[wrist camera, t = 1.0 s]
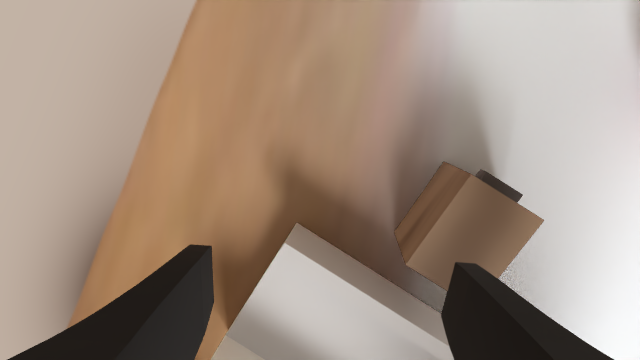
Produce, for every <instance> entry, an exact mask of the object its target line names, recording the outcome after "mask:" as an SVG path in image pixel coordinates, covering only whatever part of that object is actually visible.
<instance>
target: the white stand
mask: <svg viewBox="0 0 640 360" xmlns="http://www.w3.org/2000/svg"><path fill="white" fill-rule="evenodd" d="M210 360H454V358H453V355H452V353H451V350H450V347H449V344H448V340H447V337H446V333H445V330H444V326H443V322H442V318H441V313H439V312H438V311H436V310H435V309H433V308H431V307H430V306H428V305H427V304H425V303H424V302H422V301H420V300H419V299H417V298H416V297H414V296H412V295H411V294H409V293H408V292H406V291H404V290H403V289H401V288H400V287H398V286H397V285H395V284H393V283H392V282H390V281H389V280H387V279H385V278H384V277H382V276H381V275H379V274H378V273H376V272H374V271H373V270H371V269H370V268H368V267H366V266H365V265H363V264H362V263H360V262H359V261H357V260H355V259H354V258H352V257H351V256H349V255H347V254H346V253H344V252H343V251H341V250H340V249H338V248H336V247H335V246H333V245H332V244H330V243H328V242H327V241H325V240H324V239H322V238H320V237H319V236H317V235H316V234H314V233H313V232H311V231H309V230H308V229H306V228H305V227H303V226H301V225H300V224H298V223H296V224H295V226H294V227H293V229H292V231H291V232H290V234H289V235H288V237H287V238H286V240H285V242H284V243H283V245H282V246H281V248H280V249H279V251H278V253H277V254H276V256H275V257H274V259H273V260H272V262H271V264H270V265H269V267H268V268H267V270H266V271H265V273H264V275H263V276H262V278H261V279H260V281H259V283H258V284H257V286H256V287H255V289H254V290H253V292H252V294H251V295H250V297H249V298H248V300H247V301H246V303H245V305H244V306H243V308H242V309H241V311H240V312H239V314H238V316H237V317H236V319H235V320H234V322H233V324H232V325H231V327H230V328H229V330H228V331H227V333H226V335H225V336H224V338H223V340H222V341H221V343H220V344H219V346H218V348H217V349H216V351H215V353H214V354H213V356H212V358H211V359H210Z"/></svg>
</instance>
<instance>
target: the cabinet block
mask: <svg viewBox="0 0 640 360" xmlns="http://www.w3.org/2000/svg"><path fill="white" fill-rule="evenodd" d="M522 196H523V195H522V194H521V193H519V192H518V191H516V190H514V189H513V188H511V187H510V186H508V185H507V184H505V183H503V182H502V181H500V180H499V179H497V178H495V177H494V176H492V175H491V174H489V173H488V172H486V171H483V170H480V171H479V172H478V173H477V175H476V176H474V175H472V174H470V173H468V172H466V171H463V170H461V169H459V168H457V167H455V166H452V165H450V164H448V163H446V162H443V163H442V165H441V166H440V168H439V169H438V170H437V172H436V173H435V175H434V176H433V178H432V179H431V180H430V182H429V183H428V185H427V186H426V187H425V189H424V190H423V192H422V193H421V195H420V196H419V197H418V199H417V200H416V202H415V203H414V205H413V206H412V207H411V209H410V210H409V212H408V213H407V215H406V216H405V217H404V219H403V220H402V222H401V223H400V225H399V226H398V227H397V229H396V230H395V232H394V233H395V236H396V239H397V242H398V245H399V247H400V250H401V253H402V256H403V259H404V262H405V265H407V266H408V267H410V268H411V269H413V270H415V271H416V272H418V273H419V274H421V275H422V276H424V277H426V278H427V279H429V280H430V281H432V282H434V283H435V284H437V285H438V286H440V287H442V288H443V289H445V290H446V291H448V288H449V284H450V280H451V276H452V273H453V269H454V265H455V262H463V263H476V264H477V265H479V266H481V267H482V268H483V269H485V270H486V271H488V272H489V273H491V274H492V275H493V276H495V277H496V278H497V279H498V278H499V277H500V276H501V274H502V273H503V272H504V270H505V269H506V268H507V267H508V265H509V264H510V263H511V262H512V260H513V259H514V258H515V257H516V255H517V254H518V253H519V252H520V250H521V249H522V248H523V247H524V245H525V244H526V243H527V241H528V240H529V239H530V238H531V236H532V235H533V234H534V233H535V231H536V230H537V229H538V228H539V226H540V225H541V224H542V223H543V221H544V220H543V219H541V218H540V217H538V216H537V215H535V214H534V213H532V212H530V211H529V210H527V209H526V208H524V207H523V206H521V205H519V204H518V203H517V202H518V201H519V200H520V198H521V197H522Z"/></svg>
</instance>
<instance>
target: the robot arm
mask: <svg viewBox="0 0 640 360" xmlns="http://www.w3.org/2000/svg"><path fill="white" fill-rule="evenodd" d="M213 303H214V293H213V269H212V246H204V245H189V246H188V247H186V248H185V249H184V250H182V251H181V252H180V253H178V254H177V255H176V256H175V257H173V258H172V259H171V260H169V261H168V262H167V263H165V264H164V265H163V266H162V267H160V268H159V269H158V270H156V271H155V272H154V273H152V274H151V275H149V276H148V277H147V278H145V279H144V280H143V281H141V282H140V283H139V284H137V285H136V286H134V287H133V288H131V289H130V290H128V291H127V292H125V293H124V294H123V295H121V296H120V297H118V298H117V299H115V300H114V301H112V302H111V303H109V304H108V305H106V306H105V307H103V308H102V309H100V310H98V311H97V312H95V313H94V314H92V315H90V316H89V317H87V318H85V319H84V320H82V321H80V322H78V323H77V324H75V325H73V326H71V327H70V328H68V329H66V330H64V331H63V332H61V333H59V334H57V335H55V336H54V337H52V338H50V339H48V340H46V341H44V342H42V343H40V344H38V345H36V346H34V347H32V348H30V349H28V350H26V351H24V352H22V353H20V354H18V355H16V356H14V357H12V358H10V359H8V360H194V359H195V356H196V354H197V352H198V349H199V347H200V344H201V342H202V340H203V337H204V335H205V331H206V328H207V325H208V321H209V318H210V314H211V311H212V307H213ZM441 318H442V322H443V326H444V330H445V333H446V337H447V340H448V344H449V347H450V350H451V353H452V355H453V358H454V360H614V359H612V358H610V357H609V356H607V355H605V354H604V353H602V352H600V351H599V350H597V349H596V348H594V347H592V346H591V345H589V344H588V343H586V342H585V341H583V340H582V339H580V338H579V337H577V336H576V335H574V334H573V333H571V332H570V331H568V330H567V329H565V328H564V327H563V326H561V325H560V324H558V323H557V322H555V321H554V320H552V319H551V318H550V317H548V316H547V315H545V314H544V313H543V312H541V311H540V310H539V309H537V308H536V307H534V306H533V305H532V304H530V303H529V302H528V301H526V300H525V299H524V298H522V297H521V296H520V295H518V294H517V293H516V292H514V291H513V290H512V289H511V288H509V287H508V286H507V285H505V284H504V283H503V282H501V281H500V280H499V279H497V278H496V277H495V276H493V275H492V274H491V273H489V272H488V271H486V270H485V269H483V268H482V267H481V266H479V265H477V264H476V263H463V262H455V265H454V269H453V273H452V276H451V280H450V284H449V288H448V291H447V295H446V299H445V302H444V306H443V310H442V314H441Z"/></svg>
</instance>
